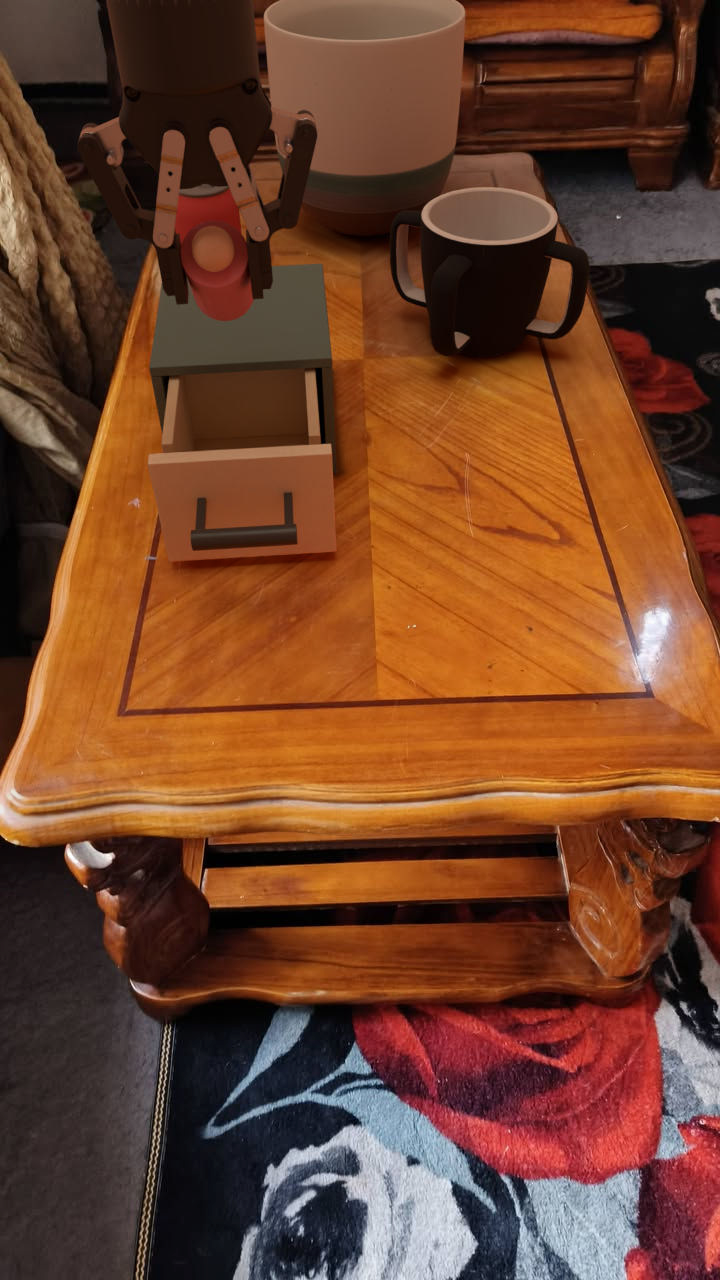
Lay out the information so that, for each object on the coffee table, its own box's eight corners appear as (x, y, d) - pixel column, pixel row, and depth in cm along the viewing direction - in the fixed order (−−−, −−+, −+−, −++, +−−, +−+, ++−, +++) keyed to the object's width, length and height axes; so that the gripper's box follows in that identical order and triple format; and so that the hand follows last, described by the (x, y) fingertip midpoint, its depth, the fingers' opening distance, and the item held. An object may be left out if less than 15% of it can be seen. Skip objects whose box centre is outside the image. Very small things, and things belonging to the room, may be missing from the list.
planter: (262, 258, 106) (242, 37, 91) (299, 185, 120) (286, -17, 105) (445, 268, 104) (456, 43, 88) (461, 193, 118) (473, -13, 102)
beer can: (253, 311, 98) (240, 191, 89) (189, 320, 97) (170, 199, 88) (243, 282, 102) (230, 165, 94) (182, 290, 101) (163, 172, 93)
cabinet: (336, 473, 79) (331, 357, 71) (171, 482, 78) (148, 367, 71) (327, 372, 90) (322, 263, 82) (182, 380, 89) (163, 270, 81)
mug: (584, 372, 89) (606, 244, 80) (415, 389, 88) (418, 261, 79) (535, 290, 100) (550, 170, 91) (384, 304, 99) (384, 184, 90)
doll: (181, 297, 65) (161, 248, 57) (216, 247, 65) (201, 191, 57) (232, 333, 65) (219, 289, 57) (267, 283, 65) (259, 232, 57)
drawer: (340, 597, 68) (336, 498, 61) (164, 608, 67) (141, 510, 61) (327, 438, 81) (322, 343, 74) (179, 446, 80) (162, 352, 74)
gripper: (24, 0, 46) (103, 333, 58) (320, -17, 47) (336, 315, 59) (45, -33, 51) (113, 279, 63) (311, -47, 52) (327, 263, 64)
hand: (220, 295), depth 61 cm, fingers closed on doll, 4 cm apart
